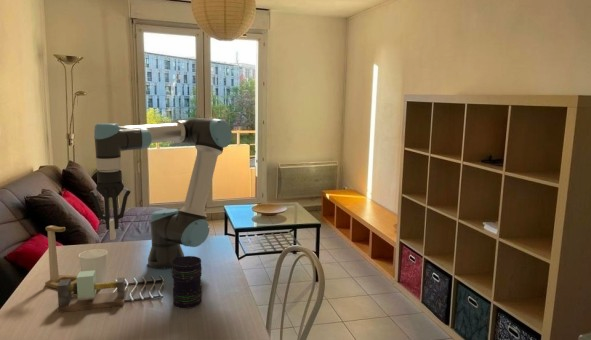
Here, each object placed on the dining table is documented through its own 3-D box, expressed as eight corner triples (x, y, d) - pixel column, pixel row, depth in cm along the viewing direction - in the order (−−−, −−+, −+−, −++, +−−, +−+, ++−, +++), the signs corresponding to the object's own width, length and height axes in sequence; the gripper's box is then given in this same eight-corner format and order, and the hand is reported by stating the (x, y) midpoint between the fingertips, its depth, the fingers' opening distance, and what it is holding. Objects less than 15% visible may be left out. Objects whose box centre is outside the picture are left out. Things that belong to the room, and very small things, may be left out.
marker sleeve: (96, 290, 146) (95, 270, 145) (94, 296, 142) (92, 275, 141) (80, 292, 145) (79, 271, 144) (77, 298, 140) (76, 277, 139)
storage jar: (168, 300, 148) (167, 259, 145) (194, 293, 154) (194, 254, 151) (179, 311, 140) (178, 268, 138) (206, 303, 146) (206, 262, 143)
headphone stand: (66, 291, 153) (62, 232, 150) (40, 287, 155) (36, 230, 152) (86, 279, 163) (83, 224, 160) (61, 276, 166) (58, 222, 162)
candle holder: (80, 291, 153) (78, 259, 151) (80, 281, 162) (78, 251, 160) (109, 286, 158) (108, 255, 156) (108, 276, 166) (106, 247, 165)
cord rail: (125, 295, 151) (124, 272, 150) (123, 305, 143) (122, 281, 142) (63, 301, 145) (61, 278, 144) (57, 312, 138) (56, 287, 136)
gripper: (130, 167, 145) (134, 233, 149) (89, 169, 141) (93, 236, 145) (129, 171, 138) (132, 240, 142) (85, 172, 134) (90, 243, 138)
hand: (113, 238), depth 144 cm, fingers closed
